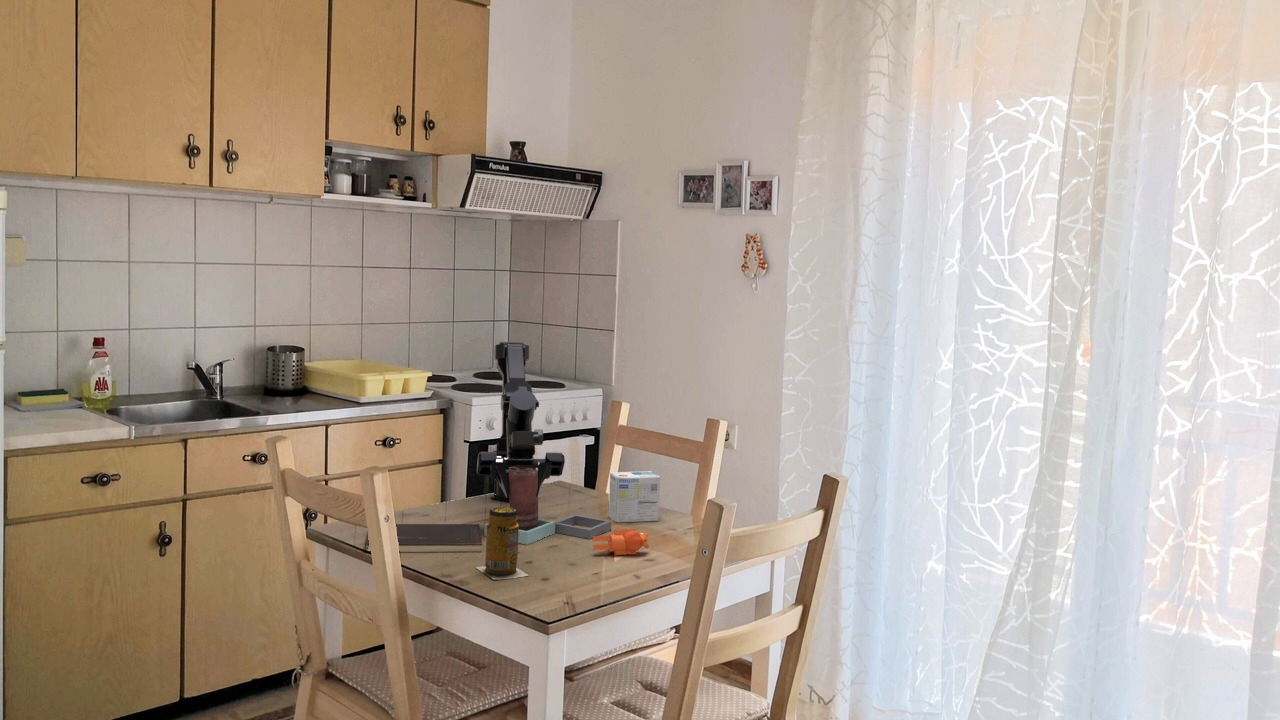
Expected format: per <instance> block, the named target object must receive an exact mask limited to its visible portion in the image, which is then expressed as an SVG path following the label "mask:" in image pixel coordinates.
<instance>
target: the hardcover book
mask: <svg viewBox="0 0 1280 720" xmlns="http://www.w3.org/2000/svg"><path fill="white" fill-rule="evenodd" d="M395 524H396V527H397V536H398V542H399V547H400V552H399V553H422V552H423V553H429V552H430V553H435V552H436V553H437V552H438V553H439V552H440V553H442V552H444V553H446V552H449V553H450V552H452V553H454V552H459V553H460V552H466V553H468V552H469V553H470V552H473V553H474V552H481V551H482V546H483V540H482V534H481V526H480V524H479V523H395ZM364 543H365V544H364V546H365V548H366V549H367V547H368V549H369V540H368V533H367V535H366V539H365V542H364Z"/></svg>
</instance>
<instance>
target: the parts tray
mask: <svg viewBox="0 0 1280 720" xmlns="http://www.w3.org/2000/svg"><path fill="white" fill-rule="evenodd" d="M488 523H489V522H486V523H484V525H483V526H484V528H483V529H484V530H483V537H486V536H487V524H488ZM555 523H556V521H551V520H547V519H541V518H538V527H536V528H534V529H531V530H528V531H523V530H519V531H518V532H519V536H518V544H523V545H526V546H527V545H530V544H532V543H535V542H538V541H540V540H543V539H545V538H547V536H548V537H550V536H552V534H553V535H555V534H556V533H555ZM554 533H555V534H554ZM549 535H550V536H549ZM544 537H545V538H544ZM542 538H543V539H542ZM537 540H538V541H537Z"/></svg>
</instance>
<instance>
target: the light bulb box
mask: <svg viewBox="0 0 1280 720" xmlns="http://www.w3.org/2000/svg"><path fill="white" fill-rule="evenodd" d="M660 480H661V477H660V475H658V474H656V473H655V472H653V471H652V470H648V471H647V470H645V471H617V472H616V471H615V472H614V471H610V472H609V493H608V494H609V499H608V517H609V518H610V519H613V520H612V521H614V523H616V522H617V523H633V522H635V523H637V522H638V523H639V522H658V521H659V508H660V507H659V504H660V502H659V501H660V484H661V483H660Z"/></svg>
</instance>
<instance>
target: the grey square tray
mask: <svg viewBox="0 0 1280 720" xmlns="http://www.w3.org/2000/svg"><path fill="white" fill-rule="evenodd" d="M555 522H556V523H555V532H556V533H555V534H560V533H561V535H565V534H566V536H570V535H571V537H576V538H581V539H586V538H587V540H591V539H593V536H601V535H603V534H604V533H607V532H610V531H612V520H607V519H601V518H596V517H590V516H585V515H579V514H574V513H573V514H572V515H569V516H567V517H565V518H564V517H563V518H561V519H559V520H556V521H555ZM576 524H577V525H576ZM582 525H583V526H582ZM581 526H582V527H581ZM587 526H588V528H587ZM602 533H603V534H602Z"/></svg>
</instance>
